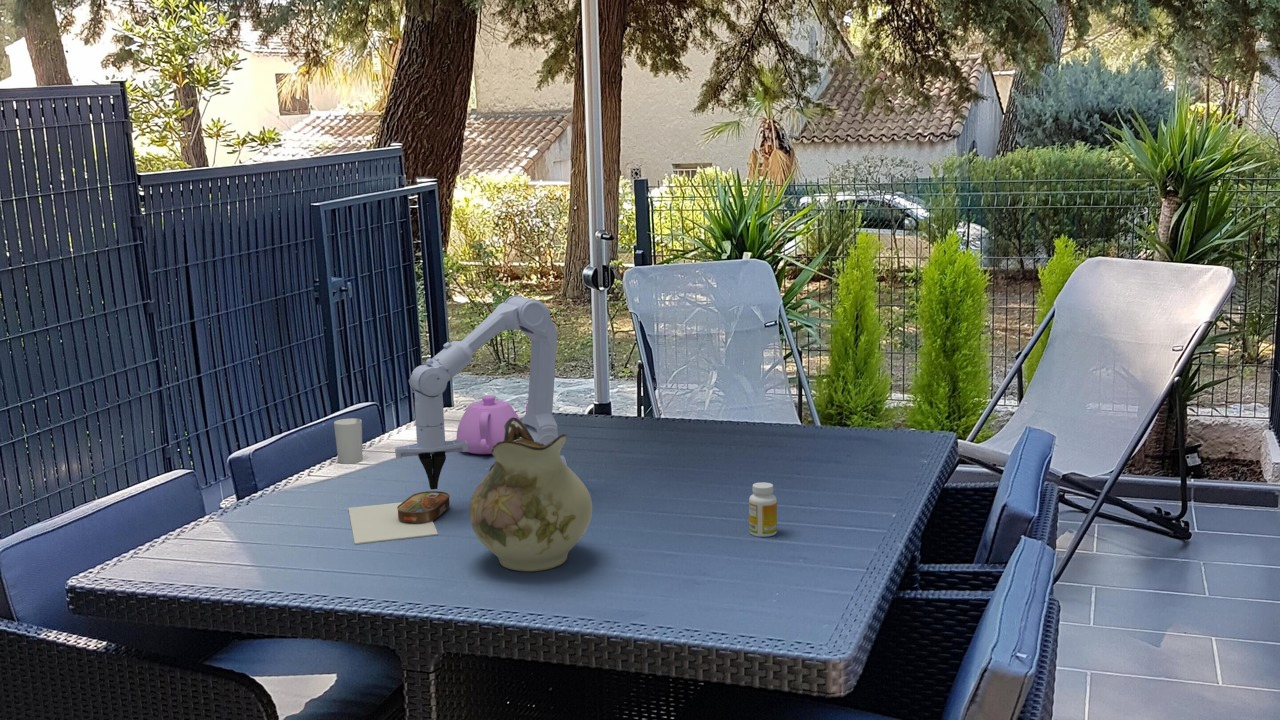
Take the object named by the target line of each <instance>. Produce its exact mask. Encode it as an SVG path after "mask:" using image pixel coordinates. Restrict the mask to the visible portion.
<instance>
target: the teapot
mask: <svg viewBox="0 0 1280 720" xmlns="http://www.w3.org/2000/svg"><path fill="white" fill-rule="evenodd" d="M527 409H528V402H527V403H526V406H525V414H524V416H525V415H526V413H527ZM512 417H514V418H517V419H519V420H520V421H521V422H522V420H521V418H520V417H519V415H518V413H517V412H516V411H515V409H514V408H513V406H512V405H511V404H510V403H509V402H508V401H503V400H497V399H496V395H491V394H490V395H489V394H488V395H483V396H482V397H481V400H480V401H475V402H472V403H471V404H469V405H468V406H467V408H466V409H465V411H464V413H463V415H462V417H461V419H460V421H459V424H458V427H457V430H456V441H466V442H467V449H468V452H467V453H469V454H470V453H471V454H474V455H492V453H491V450H492V449H493V446H494V445H496V444H497V443H498V442H502V441H504V436H505V428H504V426H505V424H506V422H507V421H508V420H509V419H510V418H512Z"/></svg>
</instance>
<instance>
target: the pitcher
mask: <svg viewBox="0 0 1280 720" xmlns="http://www.w3.org/2000/svg"><path fill="white" fill-rule="evenodd" d="M521 421H522V420H521V419H520V420H519V419H517V418H514V417H512V418H510V419H509V420H508V421H507V422H506V424H505V426H504V428H505V436H504V441H502V442H498V443H497V444H496V445H494V446H493V449H492V450H491V453H492V454H491V455H492V456H493V458H494V460H495V461H494V463H493V464H491V466H490V469H489V470H488V473H487V474H486V475H484V477H483V479H482V480H480V483H479V484H477V487H476V488H475V489H474V491H473V494H471V495H472V496H471V499H470V501H469V508H468V515H469V521H470V525H471V528H472V531H473V533H474V534H475V536H476V537H477V539H478V540H479V542H480V543H481V544H482V545H483V546H484V547H485V548H486V549H488V551H489V552H491V553H492V554H493V555H495V556H497V559H498V562H499V563H500V565H501V566H502V567H504V568H505V569H509V570H513V571H517V572H541V571H546V570H551V569H553V568H554V569H555V568H556V567H560V566H561V565H562V564H564V563H565V562H566V561H567V560H568V554H569V552H570V551H571V550H572V549H573V548H574V547H575V546H576V544H578V542H579V541H580V540H581V539H582V537H583V536H584V534H585V533H586V532H587V530H588V528H589V525H590V523H591V520H592V516H593V501H592V500H593V499H592V496H591V494H590V491H589V490H588V488H587V487H586V485H585V484H584V482H582V481H583V480H581V479H580V478H579V477H578V475H577V474H576V473H575V472H574V471H573V470H572V469H571V468H570V467H569V466H568V465H567V466H566V465H565V464H564V462H563V461H562V460H561V457H560V456H561V451H562V448H563V447H564V445H565V443H566V441H567V439H568V434H565V433H562V434H561V435H558V436H559V437H557V438H556V439H554V440H553V441H552V442H550V443H548V444H547V445H544V444H543V443H539V442H535V441H534V439H533V438H532V436H531V434H530V433H529V431H528V430H527V428H526V427H525V425H524V424H523V423H522V422H521Z"/></svg>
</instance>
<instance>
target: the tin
mask: <svg viewBox="0 0 1280 720" xmlns="http://www.w3.org/2000/svg"><path fill="white" fill-rule="evenodd" d="M402 502H403V503H401V504H400V505H399V506H398V507H397V509H398V518H399V520H400V521H402V522H415V523H425V522H430V521H434V520H436V519H437V518H439V517H440V516H441V515H442V514H443V513H445V512H446V511H447V510H448V509H449V508H450V494H449V493H448V492H444V491H439V490H438V491H437V490H427V491H421V492H418V493H414V494H412V495H410V496H409V497H408V498H406V499H405V500H404V501H402Z"/></svg>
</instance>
